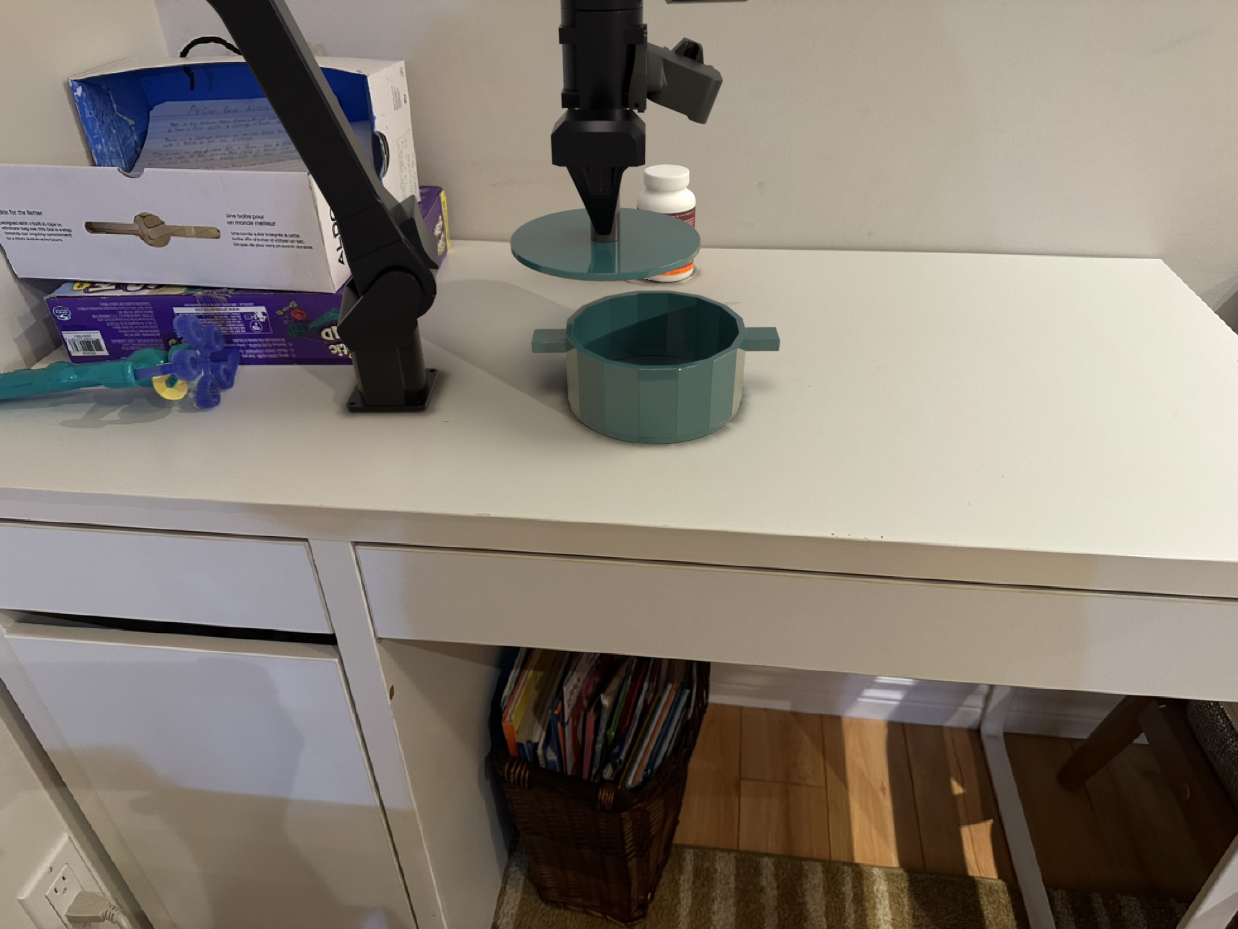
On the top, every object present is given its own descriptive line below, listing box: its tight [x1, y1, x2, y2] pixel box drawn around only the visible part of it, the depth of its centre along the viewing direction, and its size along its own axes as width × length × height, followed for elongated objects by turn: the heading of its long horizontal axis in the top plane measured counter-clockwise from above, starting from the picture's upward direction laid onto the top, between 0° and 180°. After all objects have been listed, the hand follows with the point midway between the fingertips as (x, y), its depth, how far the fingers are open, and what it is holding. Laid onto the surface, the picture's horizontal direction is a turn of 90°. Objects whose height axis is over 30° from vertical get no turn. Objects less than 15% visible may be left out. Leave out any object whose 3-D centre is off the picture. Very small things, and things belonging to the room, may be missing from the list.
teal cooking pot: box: [530, 289, 781, 445], centre depth 69 cm, size 14×20×6 cm
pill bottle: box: [636, 164, 697, 283], centre depth 89 cm, size 6×6×11 cm
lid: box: [509, 189, 702, 282], centre depth 66 cm, size 15×15×6 cm
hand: (604, 228), depth 67 cm, fingers closed on lid, 2 cm apart
